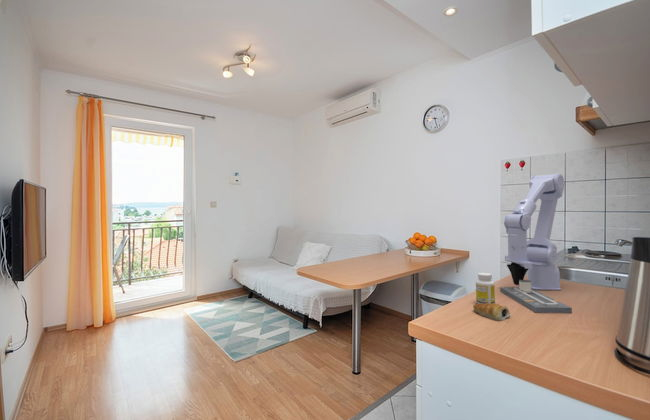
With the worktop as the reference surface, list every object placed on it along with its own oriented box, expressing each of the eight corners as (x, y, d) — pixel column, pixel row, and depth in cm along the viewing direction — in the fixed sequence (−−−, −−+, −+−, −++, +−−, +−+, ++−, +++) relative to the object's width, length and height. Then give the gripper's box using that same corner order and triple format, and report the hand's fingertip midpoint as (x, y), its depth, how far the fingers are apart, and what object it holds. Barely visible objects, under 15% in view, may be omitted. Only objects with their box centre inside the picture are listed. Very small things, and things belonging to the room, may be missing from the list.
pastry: (468, 313, 91) (468, 300, 91) (480, 308, 95) (480, 296, 95) (500, 322, 83) (499, 309, 83) (512, 317, 87) (512, 304, 87)
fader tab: (527, 290, 105) (527, 279, 105) (532, 293, 102) (532, 281, 102) (518, 290, 106) (518, 279, 105) (522, 293, 103) (522, 281, 102)
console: (529, 291, 110) (529, 285, 110) (571, 313, 88) (571, 305, 88) (500, 291, 111) (500, 285, 111) (535, 312, 90) (535, 304, 89)
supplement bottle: (490, 301, 101) (490, 272, 101) (498, 306, 96) (497, 275, 95) (473, 300, 102) (473, 272, 101) (480, 306, 96) (479, 275, 96)
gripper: (496, 244, 116) (496, 279, 116) (516, 250, 102) (516, 290, 102) (515, 244, 115) (516, 279, 115) (538, 250, 101) (539, 290, 101)
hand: (517, 284), depth 109 cm, fingers closed
